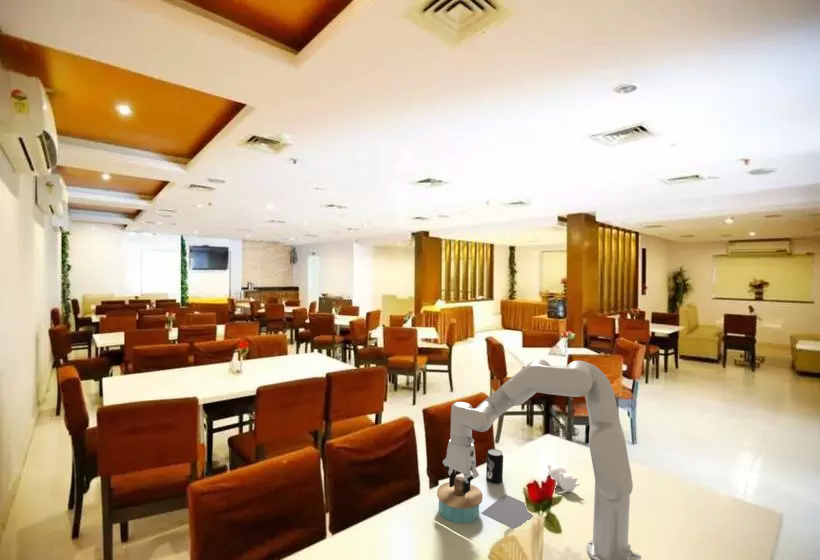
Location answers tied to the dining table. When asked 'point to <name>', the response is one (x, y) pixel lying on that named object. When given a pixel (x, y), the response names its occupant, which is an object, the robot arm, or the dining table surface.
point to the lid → (459, 495)
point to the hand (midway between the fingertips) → (459, 488)
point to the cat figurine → (562, 478)
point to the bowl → (458, 513)
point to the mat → (508, 511)
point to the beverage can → (494, 466)
